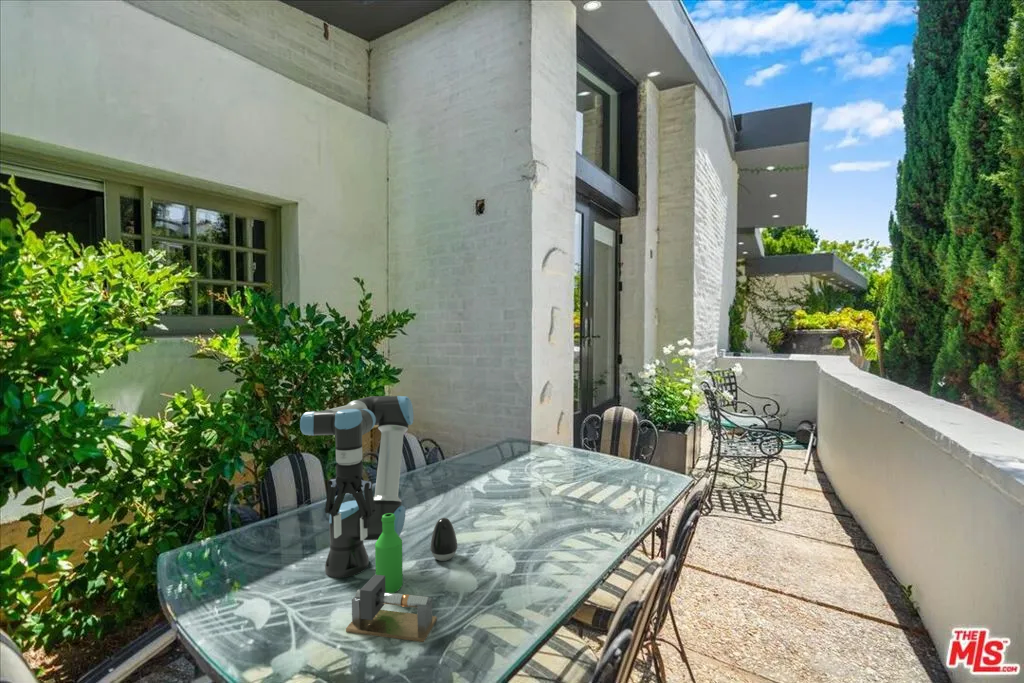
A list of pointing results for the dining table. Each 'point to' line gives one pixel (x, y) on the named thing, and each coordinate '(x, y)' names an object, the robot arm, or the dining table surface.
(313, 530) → the dining table surface
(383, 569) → the bottle
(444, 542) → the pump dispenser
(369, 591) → the grey sliding block
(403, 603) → the pipe stand
